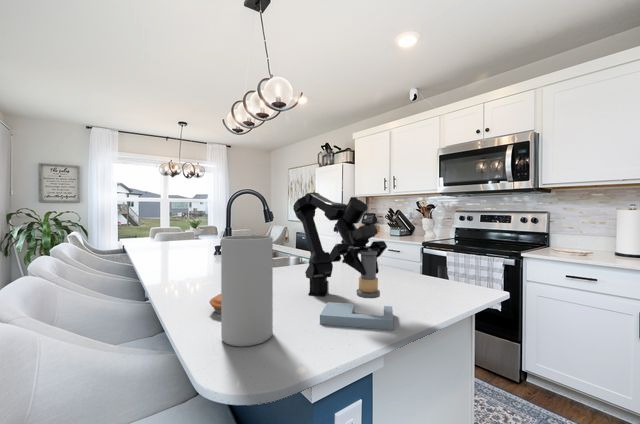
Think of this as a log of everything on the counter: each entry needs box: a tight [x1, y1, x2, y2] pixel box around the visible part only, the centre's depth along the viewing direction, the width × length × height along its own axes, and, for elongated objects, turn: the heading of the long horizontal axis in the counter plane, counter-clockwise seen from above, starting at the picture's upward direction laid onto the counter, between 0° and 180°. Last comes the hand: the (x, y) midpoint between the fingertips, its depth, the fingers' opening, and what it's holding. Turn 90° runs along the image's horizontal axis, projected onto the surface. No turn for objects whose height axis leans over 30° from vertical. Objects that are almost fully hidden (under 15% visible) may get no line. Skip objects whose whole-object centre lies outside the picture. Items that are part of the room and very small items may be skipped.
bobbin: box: [356, 250, 381, 299], centre depth 89 cm, size 7×7×13 cm
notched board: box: [319, 301, 394, 331], centre depth 87 cm, size 20×12×2 cm, turn 78°
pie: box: [209, 293, 221, 316], centre depth 95 cm, size 16×16×5 cm
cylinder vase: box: [220, 234, 274, 347], centre depth 75 cm, size 12×12×25 cm
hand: (371, 273), depth 87 cm, fingers closed on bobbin, 4 cm apart
